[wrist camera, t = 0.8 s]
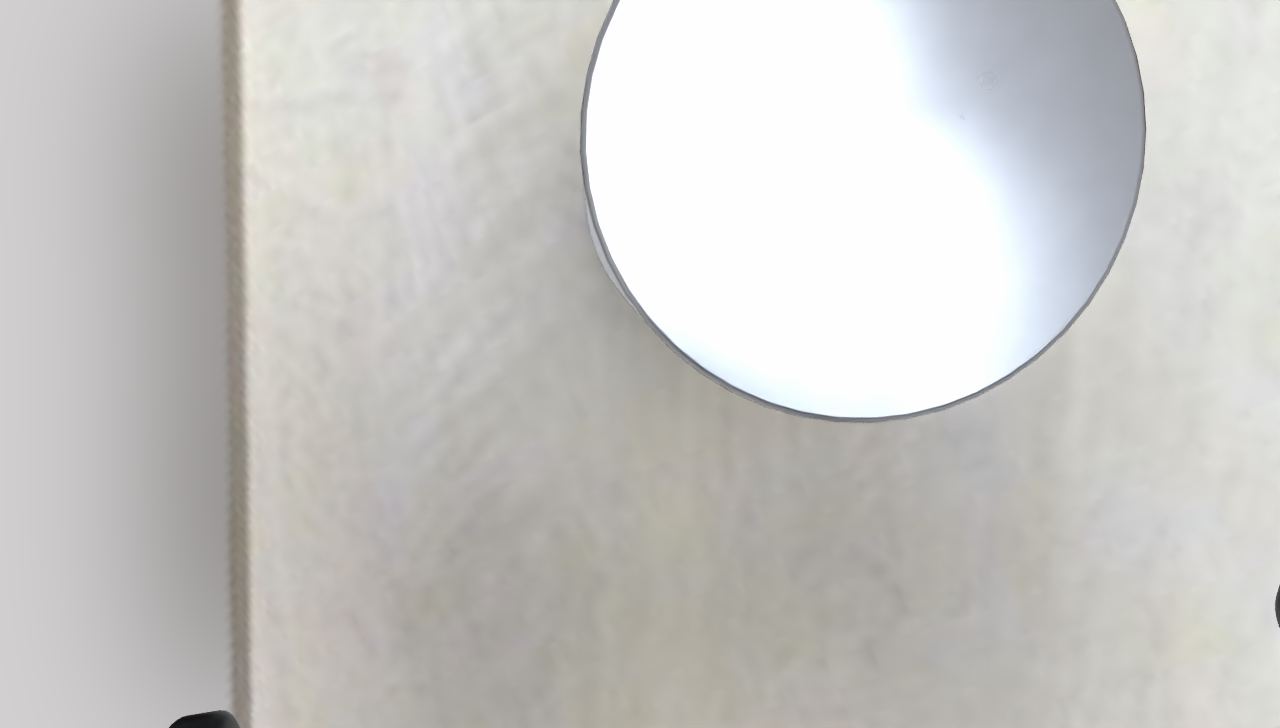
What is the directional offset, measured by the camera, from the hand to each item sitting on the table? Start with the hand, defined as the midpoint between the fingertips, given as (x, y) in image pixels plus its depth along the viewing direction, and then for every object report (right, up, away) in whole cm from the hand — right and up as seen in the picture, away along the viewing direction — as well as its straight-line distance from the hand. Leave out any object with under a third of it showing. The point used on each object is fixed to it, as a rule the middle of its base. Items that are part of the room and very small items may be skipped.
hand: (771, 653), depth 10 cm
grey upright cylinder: (+1, +6, +14) cm, 15 cm away
